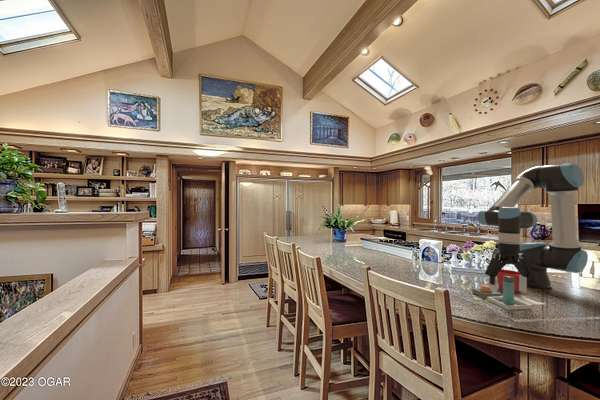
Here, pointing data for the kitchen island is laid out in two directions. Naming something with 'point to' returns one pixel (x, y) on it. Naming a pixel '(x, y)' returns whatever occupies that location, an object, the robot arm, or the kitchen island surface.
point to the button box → (485, 295)
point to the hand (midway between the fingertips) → (508, 291)
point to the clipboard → (528, 299)
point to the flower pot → (508, 273)
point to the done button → (486, 289)
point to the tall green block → (508, 290)
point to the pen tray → (509, 307)
